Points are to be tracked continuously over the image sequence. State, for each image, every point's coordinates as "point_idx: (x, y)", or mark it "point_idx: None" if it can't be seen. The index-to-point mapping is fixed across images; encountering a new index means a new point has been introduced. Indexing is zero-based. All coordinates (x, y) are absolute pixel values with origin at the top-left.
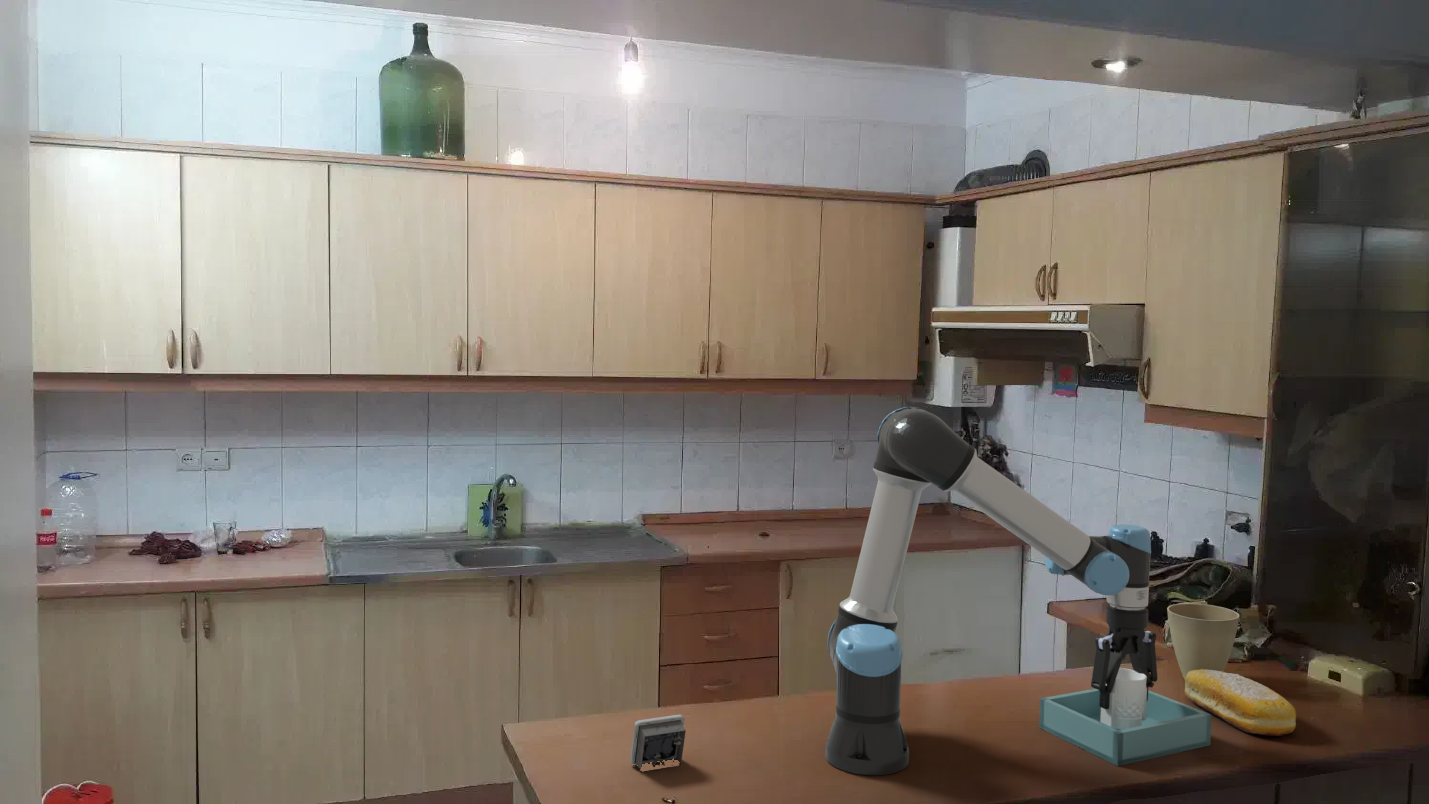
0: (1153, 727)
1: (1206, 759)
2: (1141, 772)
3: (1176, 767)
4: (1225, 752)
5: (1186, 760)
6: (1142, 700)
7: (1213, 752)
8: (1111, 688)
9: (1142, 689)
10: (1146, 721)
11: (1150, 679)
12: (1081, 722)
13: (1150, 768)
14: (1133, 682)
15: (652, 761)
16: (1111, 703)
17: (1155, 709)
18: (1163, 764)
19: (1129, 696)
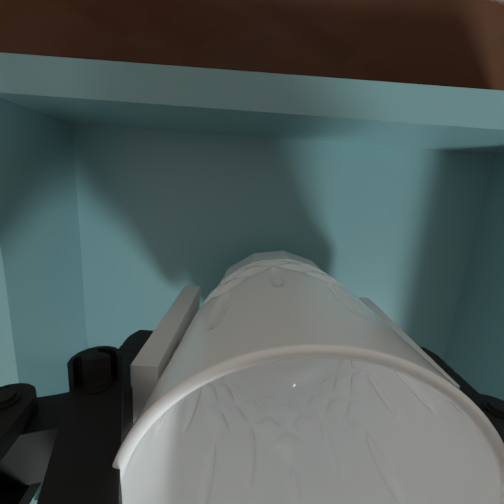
0: (399, 85)
1: (181, 15)
2: (489, 53)
3: (343, 20)
4: (59, 25)
5: (255, 47)
6: (266, 279)
7: (101, 49)
8: (488, 418)
9: (284, 305)
10: (124, 322)
11: (43, 414)
12: None
13: (430, 62)
14: (415, 361)
15: None
16: (417, 350)
17: (61, 338)
18: (359, 64)
19: (374, 314)
